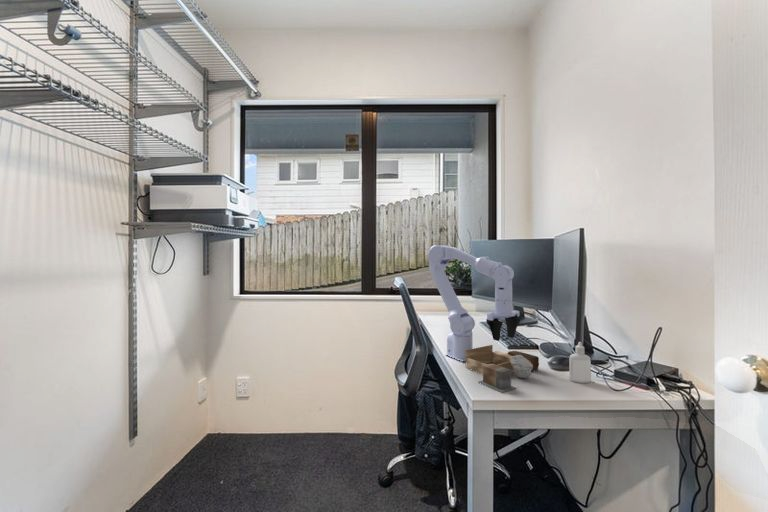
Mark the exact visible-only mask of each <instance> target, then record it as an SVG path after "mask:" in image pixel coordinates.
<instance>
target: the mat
mask: <svg viewBox="0 0 768 512" xmlns="http://www.w3.org/2000/svg"><path fill="white" fill-rule="evenodd" d="M478 382H479V383H478V384H480V383H481V385H483V386H485V385H486V386H485V387H487V386H488V388H490V389H493V390H494V391H497V392H498V393H499V392H500V393H501V394H503V393H507V392H510V391H512V390H516V389H517V387H516V386H514V385H511V387H509V388H506V389H503V390H501V389H498V388H496V387H494V386H491V385H489V384H487V383H484V382H483V379H482V380H480V381H479V380H478Z"/></svg>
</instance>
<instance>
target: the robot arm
mask: <svg viewBox="0 0 768 512" xmlns="http://www.w3.org/2000/svg"><path fill="white" fill-rule="evenodd" d="M426 256H427V258H428V270H429V271H428V272H429V274H430V276H431V278H432V280H433V282H434V284H435V286H436V289H437V290H438V292H439V294H440V296H441V299H442V300H443V303H444V305H445V307H446V309H447V311H448V321H449V328H450V331H451V332H450V333H448V334H447V338H446V353H445V354H446V355H448V356H450V357H449V358H451V357H452V359H454V358H455V359H454V360H456V359H457V360H456V361H459V360H460V361H459V362H463V361H464V362H466V350H469V349H474V348H473V345H474V344H473V341H474V339H473V337H474V336H473V335H474V334H473V329H474V328H475V326H476V321H475V319H474V318H473V317H472V316H471V315H470V314H469V312H468V310H467V309H466V308H464V307H463V306H462V304H461V302H460V300H459V298H458V295H457V294H456V292H455V290H454V288H453V285H452V284H451V282H450V280H449V278H448V276H447V273H446V272H445V270H446V266H447V265H448V263H450V261H451V260H453V259H456V260H458V261H461V262H463V263H466V264H468V265H469V266H470V265H471V266H473V267H474V269H475V271H476V272H478V273H480V274H482V275H484V276H487V277H489V278H492V279H493V281H494V282H495V284H494V286H495V287H494V302H495V303H494V311H493V312H491V313H488V314H486V317H487V318H486V323H487V325H488V326H489V328H490V329H489V330H490V331H491V332H490V333H491V336H492V340H493V341H497V342H499V341H500V339H501V330H502V325H503V323H504V322H503V321H500V320H501V319H504V321H505V323H506V324H505V325H506V332H507V337H508V338H512V339H514V338H515V336H516V331H517V328H518V325H519V323H520V322H522V321H521V320H522V318H521V317H520V310H515V309H513V278H515V277H514V276H515V272H514V270H513V268H512V267H510V266H509V265H507V264H504V265H502V264H503V263H502V262H500V261H498V262H497V261H494V260H491V258H490V257H489V256H488V255H487V256H480V257H476V256H474V255H472V254H470V253H468V252H467V251H464V250H462V249H459V248H457V247H454V246H450V245H447V244H445V245H444V244H443V245H440V244H434V245H432V246H431V247H430V248H429V250H428V253H427V255H426ZM446 355H445V356H446ZM448 356H447V357H448ZM464 362H463V363H464Z"/></svg>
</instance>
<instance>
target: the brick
mask: <svg viewBox="0 0 768 512" xmlns="http://www.w3.org/2000/svg"><path fill="white" fill-rule="evenodd" d="M507 354H509V355H512V356H515V355H522V356H524V358H526V359H527V360H529V361H530V362H531V363H532V365H533V369H532V370H531V373H533V372H535V371H538V370H539V366H540V363H539V362H540V361H539V359H540V358H539V356H536V355H534V354H530V353H527V352H526V353H525V352H522V351H517V350H508V351H507Z"/></svg>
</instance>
